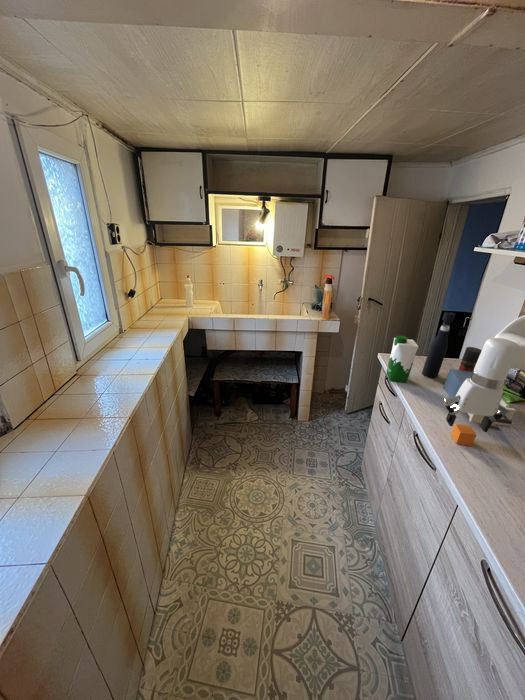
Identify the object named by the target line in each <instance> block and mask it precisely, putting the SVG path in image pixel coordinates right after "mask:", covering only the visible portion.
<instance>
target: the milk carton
mask: <svg viewBox="0 0 525 700" xmlns="http://www.w3.org/2000/svg"><path fill="white" fill-rule="evenodd" d="M419 346H420V345H418V344H417V342H415V340H414V339H409V338H408V337H407V336H406V335H402V334H398V335H397V336H396V337H394V338H393V343H392V348H391V352H390V356H389V359H388V365H387V368H386V373H385V374H386V376H387V379H388V380H389V382H393V383H394V382H395V383H402V384H407V383H408V380H409V378H410V374H411V371H412V368H413V364H414V361H415V358H416V354H417V351H418V349H419Z"/></svg>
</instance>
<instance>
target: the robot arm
mask: <svg viewBox="0 0 525 700" xmlns="http://www.w3.org/2000/svg"><path fill="white" fill-rule="evenodd" d="M481 350H482V351H481V354H480V356H479V358H478V361H477V363H476V366H475V368H474V370H473V373H472V375H471V378H467V379H466V380H465V381H464V383H463V384H462V385H461V387H460V389H459V390H458V392H457V394H456V396H455V397H450V396H449V397H446V398H443V403H444V407H445V409H446V410H447V411H448V413H447V415H446V418H445V420H446V423H447V424H448V425H449V427H454V425H455V421H456V419H457V414H460V413H465V414H467V413H471V414H477V415H483V416H484V418H483V420H482V422H481V423H479V427H480V428H481V430H482V431H483V433H488V431H489V429H490V428H491V427H492V425H491V424H492V422H495V421H496V420H497V419H500V418H502V417H503V415H505V414H507V413H508V412H509V411H508V410H507V409H506V408H505V407H503V406H502V405H500V402H501V398H502V399H503V397H502V394H503V393H504V387H503V386H504V385H506V384H509V383H510V379H509V378H507V377H508V375H509V373H510V371H511V369H512V368H513V369H519V370H523V371H525V314H524V315H521V316H519V317H517V318H515V319H514V320H512V321H510V322H509V323H508V324H507V325H506V326H505V327H503V328H502V329H501V330H500V331H499V332H498V333H497V334H496V335H495V336H494V337H490V338H487V339H486V341H485V342H484V344H483V347H482V349H481ZM451 404H453V405H451ZM497 409H499V411H498V412H496V411H497Z"/></svg>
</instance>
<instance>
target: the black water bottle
mask: <svg viewBox="0 0 525 700" xmlns="http://www.w3.org/2000/svg"><path fill="white" fill-rule="evenodd" d="M455 316H456V313H455V312H452V311H444V313H443V317H442V319H441V320H442V321H443V322H442V325H441V326H440V328H439V329H438V331H437V335H436V336H435V337H434V339H433V340H432V342H431V343H430V347H429V350H428V352H427V355H426V358H425V362H424V365H423V368H422V371H421V374H422V376H424V377H425V378H429V379H437V378H438V376H439V374H440V371H441V368H442V365H443V362H444V359H445V357H446V354H447V350H448V346H449V340H448V339H449V338H448V336H449V333H450V330H451V329H450V328H451V327H450V326H451V323H452V322H454V319H455Z"/></svg>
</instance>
